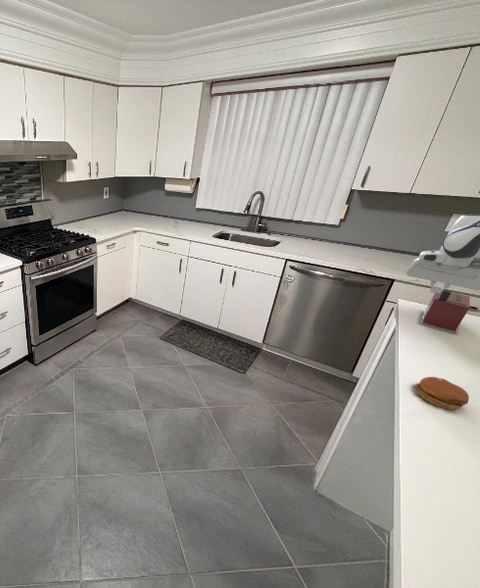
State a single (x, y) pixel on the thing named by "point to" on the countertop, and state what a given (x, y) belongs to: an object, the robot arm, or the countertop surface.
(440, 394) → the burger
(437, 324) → the toaster
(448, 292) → the browning slider
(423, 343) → the countertop surface
